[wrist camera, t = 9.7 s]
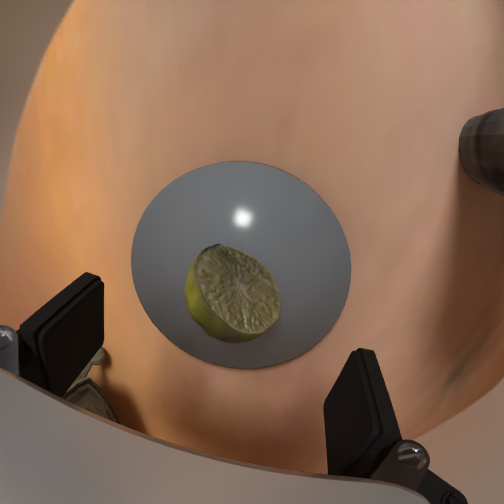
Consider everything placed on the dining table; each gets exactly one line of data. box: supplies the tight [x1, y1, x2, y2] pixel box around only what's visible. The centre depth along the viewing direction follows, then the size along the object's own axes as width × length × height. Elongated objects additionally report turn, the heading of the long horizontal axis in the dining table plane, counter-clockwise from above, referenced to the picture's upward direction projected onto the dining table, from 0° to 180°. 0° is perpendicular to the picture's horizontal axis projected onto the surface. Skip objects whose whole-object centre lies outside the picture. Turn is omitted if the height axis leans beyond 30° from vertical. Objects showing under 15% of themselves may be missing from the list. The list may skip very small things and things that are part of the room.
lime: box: [184, 244, 280, 343], centre depth 16 cm, size 4×5×5 cm
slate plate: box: [131, 161, 351, 368], centre depth 19 cm, size 13×13×1 cm
